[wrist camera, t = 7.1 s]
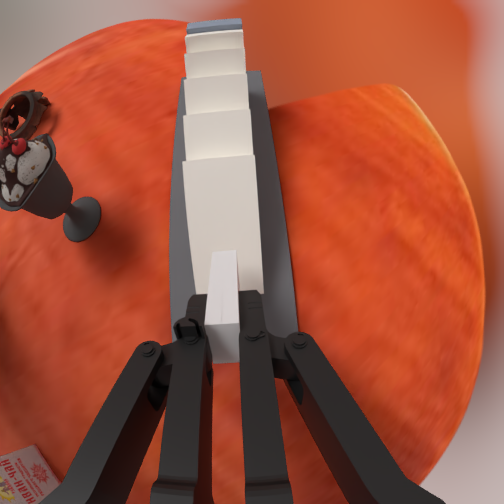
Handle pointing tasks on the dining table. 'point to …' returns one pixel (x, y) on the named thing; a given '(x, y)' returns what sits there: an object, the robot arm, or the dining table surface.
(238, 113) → the domino
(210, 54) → the domino
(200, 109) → the domino
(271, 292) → the runner mat
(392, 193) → the dining table surface
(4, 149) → the sundae
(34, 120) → the brown ring with handle
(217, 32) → the domino
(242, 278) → the domino
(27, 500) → the tea bag
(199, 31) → the domino
